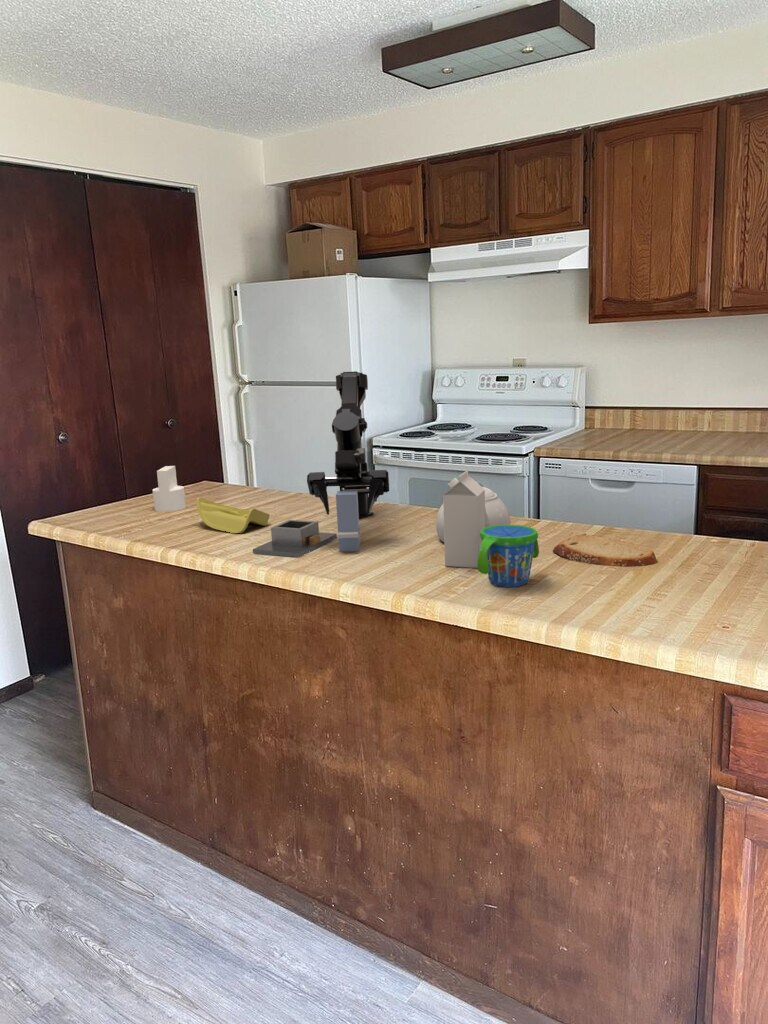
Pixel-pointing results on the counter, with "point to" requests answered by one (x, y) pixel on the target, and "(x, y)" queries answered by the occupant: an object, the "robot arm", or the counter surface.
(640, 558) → the slice of bread
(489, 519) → the teapot
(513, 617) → the counter surface
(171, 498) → the cylinder with rectangular tab
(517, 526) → the snack cup
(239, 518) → the plastic component
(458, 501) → the milk carton
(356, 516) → the grey tall block
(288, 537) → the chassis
